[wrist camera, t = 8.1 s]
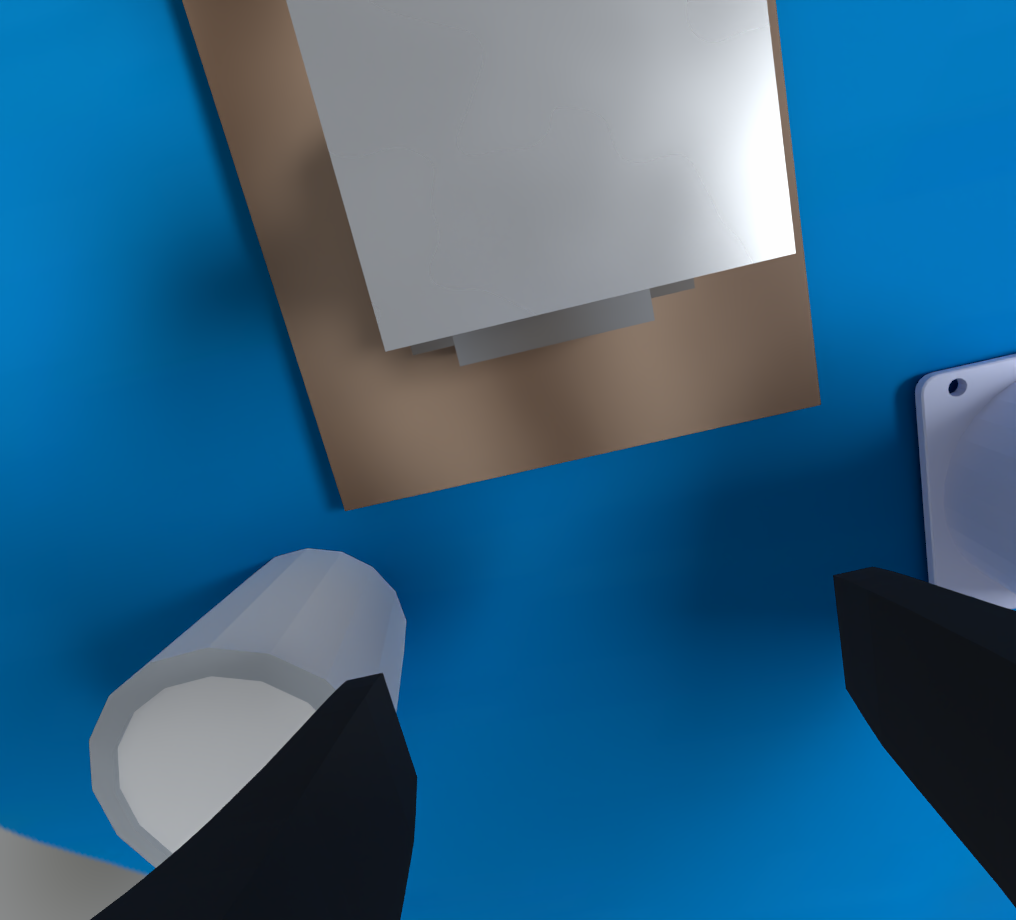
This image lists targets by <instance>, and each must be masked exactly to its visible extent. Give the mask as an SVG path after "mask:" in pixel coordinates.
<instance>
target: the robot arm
mask: <svg viewBox="0 0 1016 920" xmlns="http://www.w3.org/2000/svg"><path fill="white" fill-rule="evenodd" d="M955 379H957V381H958V387H957V389H956V390H955V391H954V392H953V393H951V394H950V393H949V391H948V388H949V384H950V383H951V382H952V381H953V380H955ZM915 401H916V414H917V428H918V441H919V455H920V469H921V482H922V496H923V509H924V523H925V536H926V550H927V564H928V577H929V583H928V582H925V581H922V580H919V579H916V578H912V577H909V576H906V575H903V574H899V573H896V572H892V571H889V570H885V569H881V568H876V567H869V568H865V569H860V570H856V571H851V572H846V573H842V574H837V575H833V578H834V587H835V596H836V605H837V614H838V622H839V631H840V640H841V649H842V658H843V667H844V675H845V684H846V689H847V691H848V692H849V694H850V696H851V697H852V699H853V701H854V702H855V704H856V705H857V707H858V709H859V710H860V712H861V713H862V715H863V717H864V718H865V720H866V721H867V723H868V724H869V726H870V728H871V729H872V731H873V732H874V734H875V735H876V737H877V738H878V740H879V741H880V743H881V744H882V746H883V747H884V748H885V749H886V751H887V752H888V753H889V754H890V756H891V757H892V758H893V759H894V761H895V762H896V763H897V764H898V766H899V767H900V768H901V769H902V770H903V772H904V773H905V774H906V775H907V776H908V778H909V779H910V780H911V781H912V783H913V784H914V785H915V786H916V787H917V789H918V790H919V791H920V792H921V793H922V795H923V796H924V797H925V798H926V799H927V801H928V802H929V803H930V804H931V805H932V807H933V808H934V809H935V810H936V811H937V813H938V814H939V815H940V816H941V817H942V819H943V820H944V821H945V822H946V823H947V825H948V826H949V827H950V828H951V829H952V830H953V832H954V833H955V834H956V835H957V836H958V838H959V839H960V840H961V841H962V842H963V844H964V845H965V846H966V847H967V848H968V850H969V851H970V852H971V853H972V854H973V856H974V857H975V858H976V859H977V860H978V862H979V863H980V864H981V865H982V866H983V868H984V869H985V870H986V871H987V872H988V874H989V875H990V876H991V877H992V878H993V880H994V881H995V882H996V883H997V884H998V886H999V887H1000V888H1001V889H1002V891H1003V892H1004V893H1005V895H1006V896H1007V897H1008V898H1009V900H1010V901H1011V902H1012V904H1013V905H1014V906H1015V907H1016V611H1014V610H1011V609H1014V608H1016V354H1012V355H1008V356H1003V357H999V358H994V359H990V360H985V361H981V362H977V363H972V364H968V365H963V366H959V367H954V368H950V369H945V370H941V371H936V372H932V373H929V374H927V375H925V376H923V377H922V378H921V379H920V380H919V382H918V384H917V385H916V389H915ZM416 792H417V775H416V772H415V769H414V766H413V763H412V760H411V757H410V754H409V751H408V748H407V745H406V742H405V739H404V736H403V733H402V730H401V727H400V723H399V720H398V717H397V714H396V711H395V708H394V705H393V702H392V699H391V696H390V693H389V690H388V687H387V684H386V681H385V678H384V675H383V673H379V674H374V675H369V676H365V677H360V678H356V679H351V680H346V681H345V682H344V683H343V684H342V685H341V686H340V687H339V688H338V689H337V690H336V691H335V692H334V693H333V694H332V695H331V696H330V697H329V698H328V699H327V700H326V701H325V702H324V703H323V704H322V705H321V706H320V707H319V708H318V709H317V711H316V712H315V713H314V714H313V715H312V716H311V717H310V718H309V719H308V720H307V721H306V722H305V724H304V725H303V726H302V727H301V728H300V729H299V730H298V731H297V732H296V733H295V734H294V735H293V736H292V737H291V739H290V740H289V741H288V742H287V743H286V744H285V745H284V746H283V747H282V748H281V749H280V750H279V751H278V752H277V754H276V755H275V756H274V757H273V758H272V759H271V760H270V761H269V762H268V763H267V764H266V765H265V766H264V767H263V768H262V769H261V770H260V771H259V772H258V773H257V774H256V775H255V776H254V777H253V778H252V779H251V780H250V781H249V782H248V783H247V784H246V785H245V786H244V787H243V788H242V789H241V790H240V791H239V792H238V793H237V794H236V795H235V796H234V797H233V798H232V799H231V800H230V801H229V802H228V803H227V804H226V805H225V806H224V807H223V808H222V809H221V810H220V811H219V812H218V813H217V814H216V815H215V816H214V817H213V818H212V819H211V820H210V821H209V822H208V823H206V824H205V825H204V826H203V827H202V828H201V829H200V830H199V831H198V832H197V833H196V834H195V835H193V836H192V837H191V838H190V839H189V840H188V841H187V842H186V843H184V844H183V845H182V846H181V847H180V848H179V849H178V850H177V851H175V852H174V853H173V854H172V855H171V856H169V857H168V858H167V859H166V860H165V861H164V862H162V863H161V864H160V865H159V866H158V867H157V868H155V869H154V870H153V871H152V872H151V873H149V874H148V875H147V876H146V877H145V878H144V879H142V880H141V881H140V882H139V883H138V884H136V885H135V886H134V887H132V888H131V889H130V890H129V891H128V892H126V893H125V894H124V895H122V896H121V897H120V898H118V899H117V900H116V901H114V902H113V903H112V904H110V905H109V906H108V907H106V908H105V909H104V910H102V911H101V912H100V913H98V914H97V915H96V916H94V917H93V918H92V919H91V920H400V918H401V912H402V907H403V901H404V896H405V890H406V884H407V879H408V873H409V867H410V861H411V855H412V849H413V843H414V831H415V815H416Z"/></svg>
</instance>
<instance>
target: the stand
mask: <svg viewBox="0 0 1016 920" xmlns="http://www.w3.org/2000/svg"><path fill="white" fill-rule="evenodd" d="M182 2H183V5H184V8H185V11H186V14H187V17H188V20H189V23H190V27H191V30H192V33H193V36H194V39H195V42H196V45H197V49H198V52H199V55H200V58H201V61H202V64H203V67H204V70H205V74H206V77H207V80H208V83H209V86H210V89H211V92H212V96H213V99H214V102H215V105H216V108H217V111H218V114H219V117H220V121H221V124H222V127H223V130H224V133H225V136H226V139H227V143H228V146H229V149H230V152H231V155H232V158H233V161H234V164H235V168H236V171H237V174H238V177H239V180H240V183H241V186H242V190H243V193H244V196H245V199H246V202H247V205H248V208H249V211H250V215H251V218H252V221H253V224H254V227H255V230H256V233H257V237H258V240H259V243H260V246H261V249H262V252H263V255H264V258H265V262H266V265H267V268H268V271H269V274H270V277H271V280H272V284H273V287H274V290H275V293H276V296H277V299H278V302H279V305H280V309H281V312H282V315H283V318H284V321H285V324H286V327H287V331H288V334H289V337H290V340H291V343H292V346H293V349H294V352H295V356H296V359H297V362H298V365H299V368H300V371H301V374H302V377H303V381H304V384H305V387H306V390H307V393H308V396H309V399H310V403H311V406H312V409H313V412H314V415H315V418H316V421H317V424H318V428H319V431H320V434H321V437H322V440H323V443H324V446H325V450H326V453H327V456H328V459H329V462H330V465H331V468H332V471H333V475H334V478H335V481H336V484H337V487H338V490H339V493H340V497H341V500H342V503H343V506H344V509H345V511H348V510H353V509H357V508H362V507H366V506H371V505H375V504H379V503H384V502H388V501H393V500H397V499H402V498H406V497H411V496H415V495H420V494H424V493H429V492H433V491H438V490H442V489H447V488H451V487H456V486H460V485H464V484H469V483H473V482H478V481H482V480H487V479H491V478H496V477H500V476H505V475H509V474H514V473H518V472H523V471H527V470H532V469H536V468H541V467H545V466H549V465H554V464H558V463H563V462H567V461H572V460H576V459H581V458H585V457H590V456H594V455H599V454H603V453H608V452H612V451H617V450H621V449H625V448H630V447H634V446H639V445H643V444H648V443H652V442H657V441H661V440H666V439H670V438H675V437H679V436H684V435H688V434H693V433H697V432H702V431H706V430H710V429H715V428H719V427H724V426H728V425H733V424H737V423H742V422H746V421H751V420H755V419H760V418H764V417H769V416H773V415H778V414H782V413H787V412H791V411H795V410H800V409H804V408H809V407H813V406H818V405H821V401H820V392H819V383H818V374H817V365H816V357H815V348H814V339H813V330H812V321H811V312H810V303H809V294H808V285H807V276H806V267H805V259H804V250H803V241H802V232H801V223H800V214H799V205H798V196H797V187H796V178H795V169H794V161H793V152H792V143H791V134H790V125H789V116H788V107H787V98H786V89H785V80H784V71H783V62H782V54H781V45H780V36H779V27H778V18H777V9H776V0H767V7H768V16H769V25H770V33H771V42H772V51H773V59H774V68H775V77H776V85H777V94H778V103H779V111H780V120H781V129H782V137H783V146H784V155H785V163H786V172H787V181H788V189H789V198H790V207H791V215H792V224H793V233H794V241H795V250H796V253H795V254H791V255H786V256H782V257H778V258H774V259H770V260H766V261H761V262H757V263H753V264H749V265H745V266H741V267H736V268H732V269H728V270H724V271H720V272H716V273H711V274H707V275H703V276H699V277H695V278H691V279H686V280H682V281H678V282H674V283H670V284H666V285H661V286H657V287H653V288H649V289H645V290H641V291H636V292H632V293H628V294H624V295H620V296H616V297H611V298H607V299H603V300H599V301H595V302H591V303H586V304H582V305H578V306H574V307H570V308H565V309H561V310H557V311H553V312H549V313H545V314H540V315H536V316H532V317H528V318H524V319H520V320H515V321H511V322H507V323H503V324H499V325H495V326H490V327H486V328H482V329H478V330H474V331H470V332H465V333H461V334H457V335H453V336H449V337H445V338H440V339H436V340H432V341H428V342H424V343H420V344H415V345H411V346H407V347H403V348H399V349H395V350H390V351H386V352H385V348H384V345H383V341H382V338H381V334H380V331H379V327H378V324H377V320H376V317H375V313H374V310H373V306H372V302H371V299H370V295H369V292H368V288H367V285H366V281H365V278H364V274H363V271H362V267H361V264H360V260H359V257H358V253H357V249H356V246H355V242H354V239H353V235H352V232H351V228H350V225H349V221H348V218H347V214H346V211H345V207H344V204H343V200H342V196H341V193H340V189H339V186H338V182H337V179H336V175H335V172H334V168H333V165H332V161H331V158H330V154H329V150H328V147H327V143H326V140H325V136H324V133H323V129H322V126H321V122H320V119H319V115H318V112H317V108H316V105H315V101H314V97H313V94H312V90H311V87H310V83H309V80H308V76H307V73H306V69H305V66H304V62H303V59H302V55H301V52H300V48H299V44H298V41H297V37H296V34H295V30H294V27H293V23H292V20H291V16H290V13H289V9H288V6H287V2H286V0H182Z"/></svg>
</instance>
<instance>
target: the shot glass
mask: <svg viewBox="0 0 1016 920" xmlns="http://www.w3.org/2000/svg"><path fill="white" fill-rule="evenodd" d="M405 633H406V618H405V616H404V613H403V610H402V608H401V605H400V602H399V599H398V597H397V594H396V591H395V590H394V589H393V588H392V587H391V586H390V585H389V584H388V583H387V582H386V581H385V580H384V579H383V577H382V576H381V575H380V574H379V573H378V572H377V571H376V570H375V569H374V568H373V567H372V566H370V565H368V564H366V563H364V562H362V561H360V560H358V559H356V558H354V557H352V556H349V555H347V554H345V553H343V552H340V551H330V550H321V549H311V548H306V549H302V550H299V551H295V552H291V553H288V554H284V555H280V556H277V557H274V558H273V559H272V560H271V561H269V562H268V563H267V564H266V565H264V566H263V567H262V568H261V569H259V570H258V571H257V572H256V573H254V574H253V575H252V576H251V577H249V578H248V579H247V580H246V581H245V582H243V583H242V584H241V585H240V586H239V587H238V588H236V589H235V590H234V591H233V592H232V593H230V594H229V595H228V596H227V597H226V598H224V599H223V600H222V601H221V602H220V603H219V604H217V605H216V606H215V607H214V608H213V609H211V610H210V611H209V612H208V613H207V614H205V615H204V616H203V617H202V618H201V619H200V620H198V621H197V622H196V623H195V624H194V625H192V626H191V627H190V628H189V629H188V630H186V631H185V632H184V633H183V634H182V635H181V636H179V637H178V638H177V639H176V640H175V641H173V642H172V643H171V644H170V645H169V646H167V647H166V648H165V649H164V650H163V651H162V652H160V653H159V654H158V655H157V656H156V657H154V658H153V659H152V660H151V661H150V662H149V663H147V664H146V665H145V666H144V667H143V668H141V669H140V670H139V671H138V672H137V673H135V674H134V675H133V676H132V677H131V678H130V679H128V680H127V681H126V682H125V683H124V684H122V685H121V686H120V687H119V688H118V689H116V690H115V691H114V692H113V693H112V694H111V695H109V697H108V699H107V702H106V704H105V706H104V708H103V710H102V713H101V715H100V717H99V719H98V722H97V724H96V726H95V728H94V731H93V733H92V735H91V737H90V740H89V748H90V763H91V777H92V790H93V792H94V794H95V795H96V797H97V799H98V801H99V803H100V805H101V806H102V808H103V810H104V812H105V814H106V815H107V817H108V819H109V821H110V823H111V825H112V826H113V828H114V830H115V832H116V834H117V835H118V836H119V837H120V838H121V839H122V840H124V841H125V842H126V843H127V844H128V845H129V846H131V847H132V848H133V849H134V850H135V851H136V852H138V853H139V854H140V855H141V856H142V857H144V858H145V859H146V860H147V861H148V862H149V863H151V864H152V865H153V866H154V867H155V868H157V867H158V866H159V865H160V864H161V863H162V862H164V861H165V860H166V859H167V858H168V857H169V856H171V855H172V854H173V853H174V852H175V851H177V850H178V849H179V848H180V847H181V846H182V845H183V844H184V843H186V842H187V841H188V840H189V839H190V838H191V837H192V836H193V835H195V834H196V833H197V832H198V831H199V830H200V829H201V828H202V827H203V826H204V825H205V824H206V823H208V822H209V821H210V820H211V819H212V818H213V817H214V816H215V815H216V814H217V813H218V812H219V811H220V810H221V809H222V808H223V807H224V806H225V805H226V804H227V803H228V802H229V801H230V800H231V799H232V798H233V797H234V796H235V795H236V794H237V793H238V792H239V791H240V790H241V789H242V788H243V787H244V786H245V785H246V784H247V783H248V782H249V781H250V780H251V779H252V778H253V777H254V776H255V775H256V774H257V773H258V772H259V771H260V770H261V769H262V768H263V767H264V766H265V765H266V764H267V763H268V762H269V761H270V760H271V759H272V758H273V757H274V756H275V755H276V754H277V752H278V751H279V750H280V749H281V748H282V747H283V746H284V745H285V744H286V743H287V742H288V741H289V740H290V739H291V737H292V736H293V735H294V734H295V733H296V732H297V731H298V730H299V729H300V728H301V727H302V726H303V725H304V724H305V722H306V721H307V720H308V719H309V718H310V717H311V716H312V715H313V714H314V713H315V712H316V711H317V709H318V708H319V707H320V706H321V705H322V704H323V703H324V702H325V701H326V700H327V699H328V698H329V697H330V696H331V695H332V694H333V693H334V692H335V691H336V690H337V689H338V688H339V687H340V686H341V685H342V684H343V683H344V682H345V681H346V680H351V679H356V678H360V677H365V676H369V675H374V674H379V673H383V675H384V678H385V681H386V684H387V687H388V690H389V693H390V696H391V699H392V702H393V705H394V708H395V711H397V703H398V695H399V687H400V679H401V671H402V663H403V655H404V645H405Z"/></svg>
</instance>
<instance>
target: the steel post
mask: <svg viewBox="0 0 1016 920" xmlns="http://www.w3.org/2000/svg"><path fill="white" fill-rule="evenodd" d="M286 2H287V6H288V9H289V13H290V16H291V20H292V23H293V27H294V30H295V34H296V37H297V41H298V44H299V48H300V52H301V55H302V59H303V62H304V66H305V69H306V73H307V76H308V80H309V83H310V87H311V90H312V94H313V97H314V101H315V105H316V108H317V112H318V115H319V119H320V122H321V126H322V129H323V133H324V136H325V140H326V143H327V147H328V150H329V154H330V158H331V161H332V165H333V168H334V172H335V175H336V179H337V182H338V186H339V189H340V193H341V196H342V200H343V204H344V207H345V211H346V214H347V218H348V221H349V225H350V228H351V232H352V235H353V239H354V242H355V246H356V249H357V253H358V257H359V260H360V264H361V267H362V271H363V274H364V278H365V281H366V285H367V288H368V292H369V295H370V299H371V302H372V306H373V310H374V313H375V317H376V320H377V324H378V327H379V331H380V334H381V338H382V341H383V345H384V348H385V352H386V351H390V350H395V349H399V348H403V347H407V346H411V345H415V344H420V343H424V342H428V341H432V340H436V339H440V338H445V337H449V336H453V335H457V334H461V333H465V332H470V331H474V330H478V329H482V328H486V327H490V326H495V325H499V324H503V323H507V322H511V321H515V320H520V319H524V318H528V317H532V316H536V315H540V314H545V313H549V312H553V311H557V310H561V309H565V308H570V307H574V306H578V305H582V304H586V303H591V302H595V301H599V300H603V299H607V298H611V297H616V296H620V295H624V294H628V293H632V292H636V291H641V290H645V289H649V288H653V287H657V286H661V285H666V284H670V283H674V282H678V281H682V280H686V279H691V278H695V277H699V276H703V275H707V274H711V273H716V272H720V271H724V270H728V269H732V268H736V267H741V266H745V265H749V264H753V263H757V262H761V261H766V260H770V259H774V258H778V257H782V256H786V255H791V254H795V253H796V250H795V241H794V233H793V224H792V215H791V207H790V198H789V189H788V181H787V172H786V163H785V155H784V146H783V137H782V129H781V120H780V111H779V103H778V94H777V85H776V77H775V68H774V59H773V51H772V42H771V33H770V25H769V16H768V7H767V0H286Z"/></svg>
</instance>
